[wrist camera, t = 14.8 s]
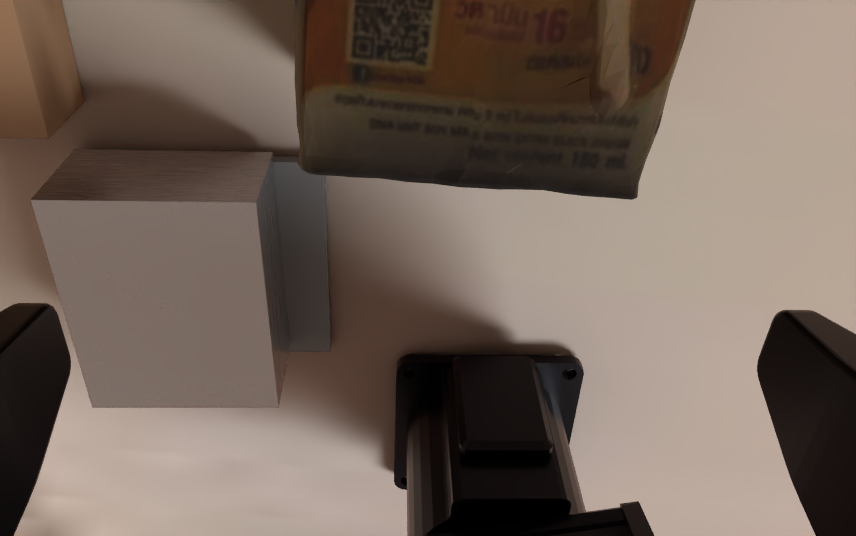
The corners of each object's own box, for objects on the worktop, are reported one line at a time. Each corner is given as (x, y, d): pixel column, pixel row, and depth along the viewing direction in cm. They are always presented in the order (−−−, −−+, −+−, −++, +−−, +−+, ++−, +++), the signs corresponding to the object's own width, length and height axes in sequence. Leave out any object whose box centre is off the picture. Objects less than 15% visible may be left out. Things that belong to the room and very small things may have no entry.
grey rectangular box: (290, 344, 25) (278, 407, 22) (123, 343, 25) (92, 407, 22) (273, 151, 21) (256, 202, 18) (74, 149, 21) (30, 199, 18)
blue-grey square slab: (331, 344, 25) (330, 351, 25) (123, 341, 25) (119, 349, 25) (323, 157, 22) (322, 163, 21) (77, 151, 21) (72, 157, 21)
